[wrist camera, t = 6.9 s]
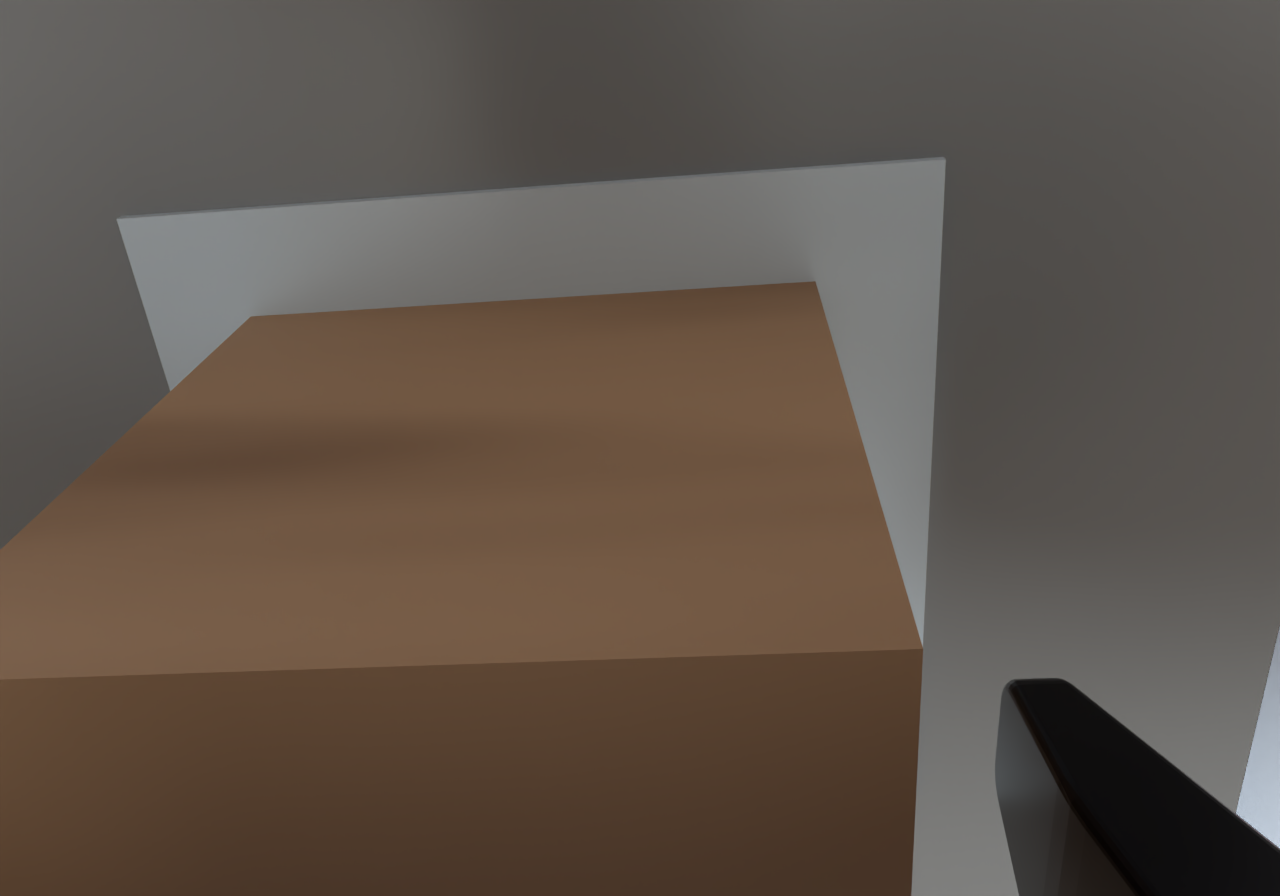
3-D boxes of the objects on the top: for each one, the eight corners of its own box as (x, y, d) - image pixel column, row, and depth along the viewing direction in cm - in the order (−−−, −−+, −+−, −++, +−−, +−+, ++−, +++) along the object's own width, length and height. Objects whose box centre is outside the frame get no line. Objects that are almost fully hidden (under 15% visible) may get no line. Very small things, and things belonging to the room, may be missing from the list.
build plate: (1180, 966, 13) (1195, 1003, 13) (127, 975, 15) (108, 1009, 14) (1487, -424, 7) (1541, -446, 7) (-419, -210, 8) (-483, -217, 8)
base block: (818, 729, 11) (893, 1263, 7) (363, 741, 12) (158, 1250, 7) (815, 281, 9) (924, 649, 5) (250, 315, 10) (-142, 684, 5)
